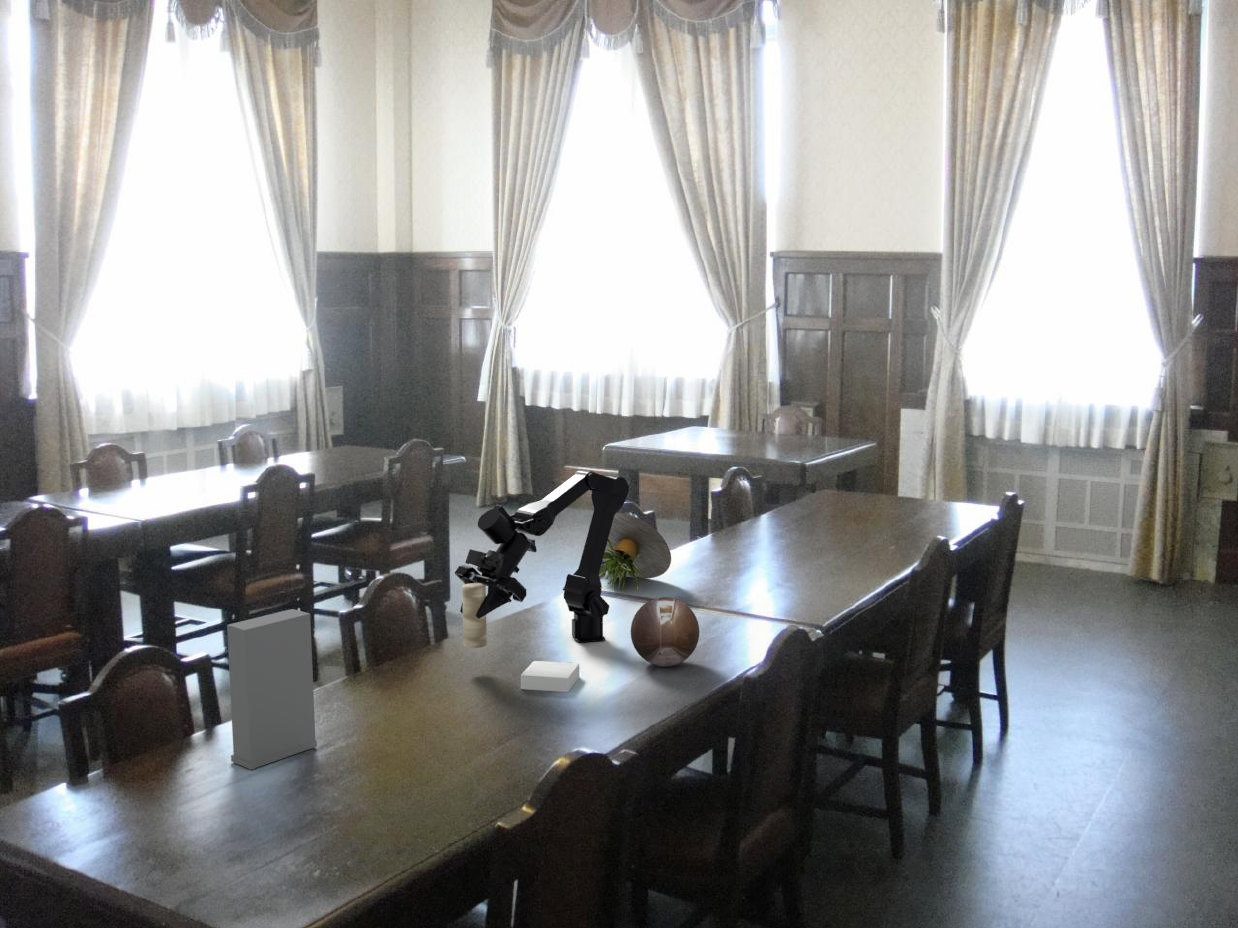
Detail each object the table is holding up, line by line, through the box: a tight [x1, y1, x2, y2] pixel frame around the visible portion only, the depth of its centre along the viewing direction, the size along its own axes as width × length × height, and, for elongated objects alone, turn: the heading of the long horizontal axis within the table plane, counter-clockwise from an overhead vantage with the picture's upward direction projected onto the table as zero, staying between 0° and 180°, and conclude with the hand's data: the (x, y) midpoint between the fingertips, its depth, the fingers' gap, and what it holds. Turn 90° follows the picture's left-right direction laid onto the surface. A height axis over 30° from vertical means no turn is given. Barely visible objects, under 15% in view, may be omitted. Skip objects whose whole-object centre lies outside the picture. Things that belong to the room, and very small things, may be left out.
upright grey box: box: [226, 608, 318, 771], centre depth 219 cm, size 14×6×25 cm, turn 141°
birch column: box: [461, 583, 488, 649], centre depth 267 cm, size 5×5×13 cm
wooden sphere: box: [630, 596, 700, 668], centre depth 271 cm, size 15×15×15 cm
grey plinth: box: [520, 660, 580, 693], centre depth 260 cm, size 10×10×3 cm
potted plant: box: [588, 512, 672, 592], centre depth 342 cm, size 25×18×25 cm
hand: (469, 615), depth 266 cm, fingers closed on birch column, 5 cm apart
